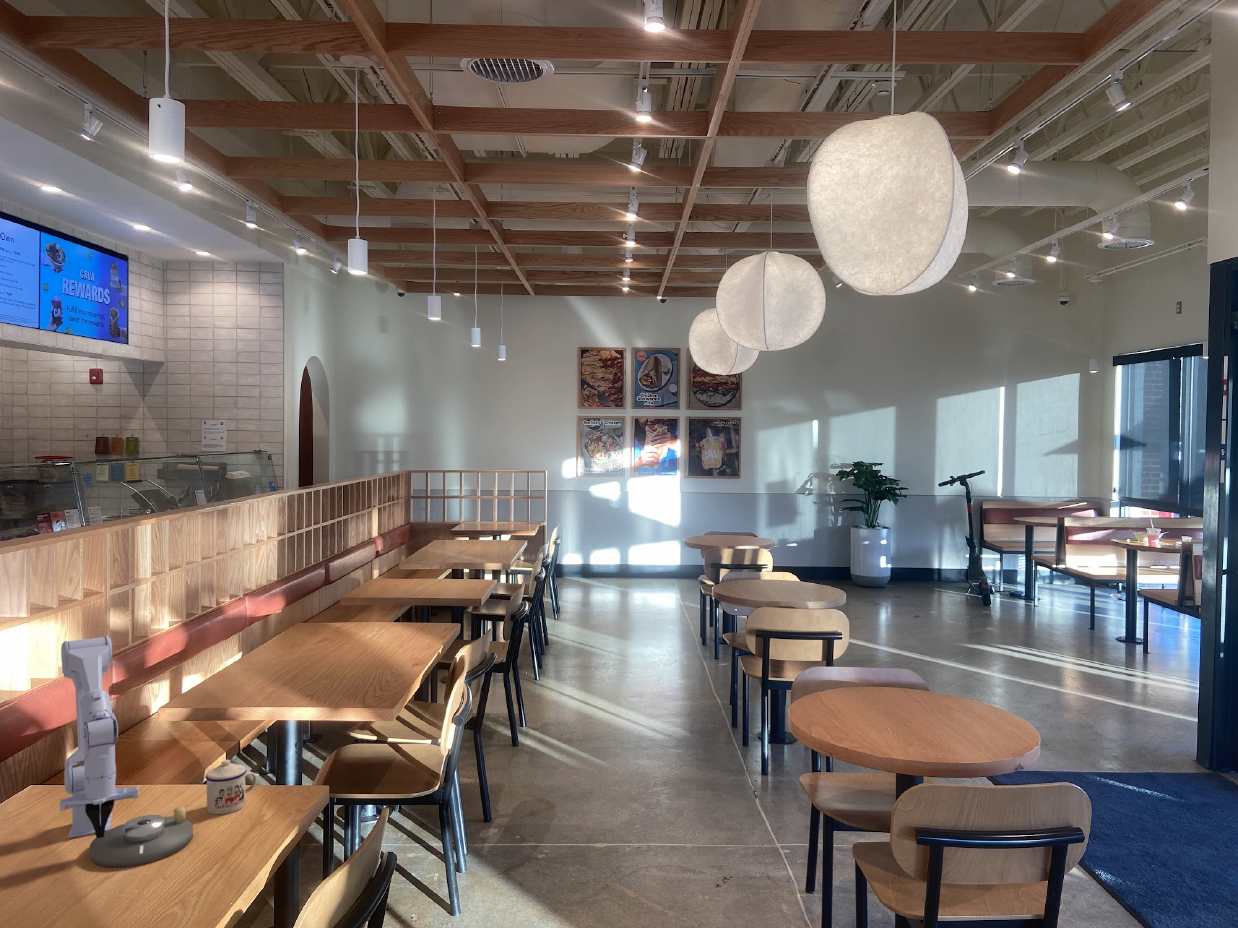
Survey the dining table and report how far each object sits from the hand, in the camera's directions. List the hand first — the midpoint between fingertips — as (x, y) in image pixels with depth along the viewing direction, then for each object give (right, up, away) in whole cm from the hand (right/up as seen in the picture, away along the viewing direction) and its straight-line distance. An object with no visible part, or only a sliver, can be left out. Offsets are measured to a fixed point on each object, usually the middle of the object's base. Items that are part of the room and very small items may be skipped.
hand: (100, 835), depth 182 cm
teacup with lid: (+17, -4, +25) cm, 31 cm away
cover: (+7, -2, +4) cm, 8 cm away
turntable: (+7, -4, +4) cm, 9 cm away
